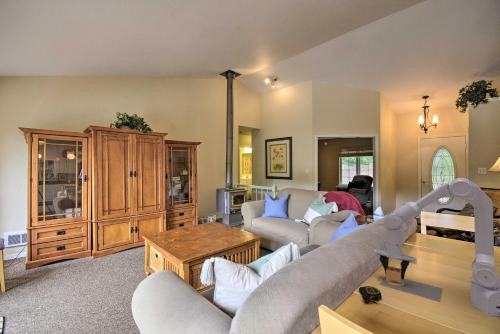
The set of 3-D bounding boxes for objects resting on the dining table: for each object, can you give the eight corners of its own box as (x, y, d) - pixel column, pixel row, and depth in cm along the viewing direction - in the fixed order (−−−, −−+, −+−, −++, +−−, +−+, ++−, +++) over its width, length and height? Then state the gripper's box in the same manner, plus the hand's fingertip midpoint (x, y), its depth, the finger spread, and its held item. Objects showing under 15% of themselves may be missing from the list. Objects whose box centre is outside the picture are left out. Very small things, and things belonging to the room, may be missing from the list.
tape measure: (358, 294, 92) (358, 284, 92) (377, 295, 91) (377, 285, 91) (363, 304, 85) (363, 294, 85) (384, 306, 84) (384, 295, 84)
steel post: (399, 286, 96) (398, 271, 96) (393, 286, 97) (392, 271, 97) (396, 284, 99) (396, 269, 99) (390, 283, 99) (390, 269, 99)
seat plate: (443, 291, 92) (442, 287, 92) (440, 305, 83) (439, 301, 83) (387, 276, 105) (387, 273, 105) (379, 287, 96) (379, 283, 96)
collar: (403, 277, 98) (403, 269, 98) (400, 282, 94) (400, 273, 94) (389, 274, 101) (389, 265, 101) (386, 278, 98) (386, 269, 98)
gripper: (417, 244, 96) (418, 278, 96) (377, 237, 105) (378, 268, 106) (414, 249, 90) (415, 285, 91) (372, 241, 100) (373, 274, 100)
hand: (394, 276), depth 98 cm, fingers closed on collar, 5 cm apart
